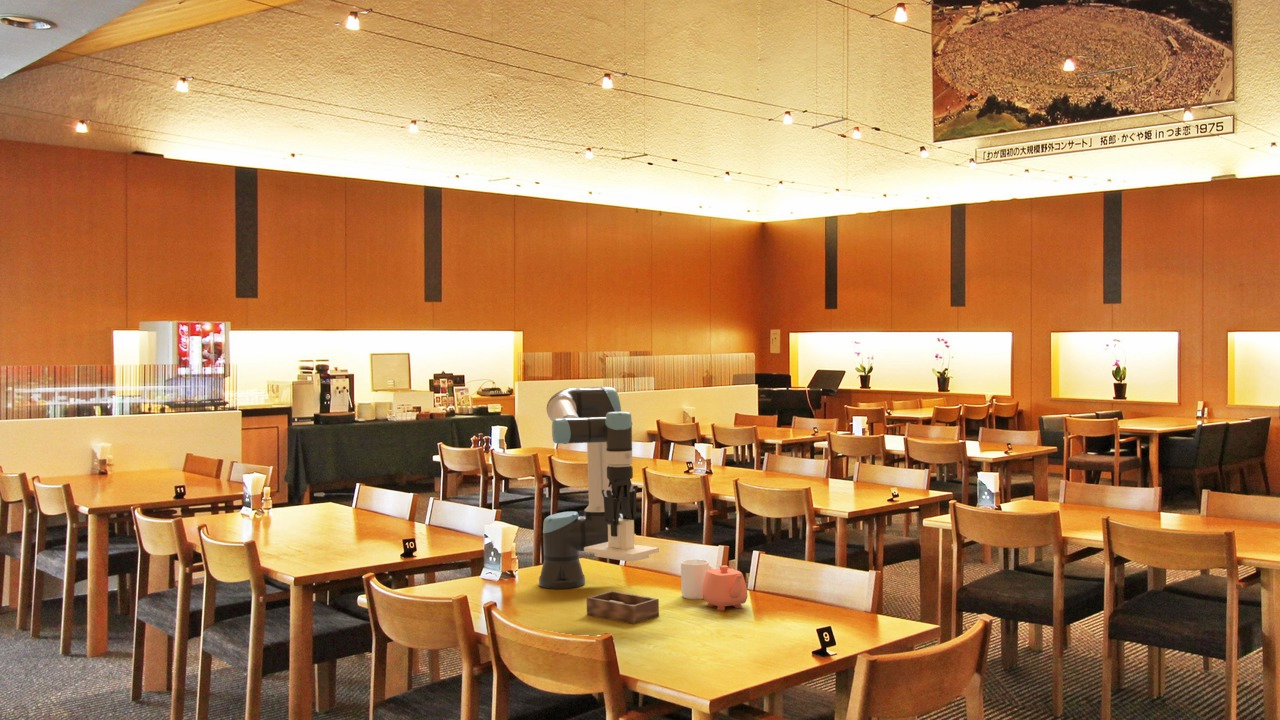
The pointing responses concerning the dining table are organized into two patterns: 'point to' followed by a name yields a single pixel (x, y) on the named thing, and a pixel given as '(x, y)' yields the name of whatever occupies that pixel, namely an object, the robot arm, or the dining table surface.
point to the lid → (622, 545)
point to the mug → (693, 577)
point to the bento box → (623, 607)
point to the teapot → (724, 588)
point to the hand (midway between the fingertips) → (621, 546)
